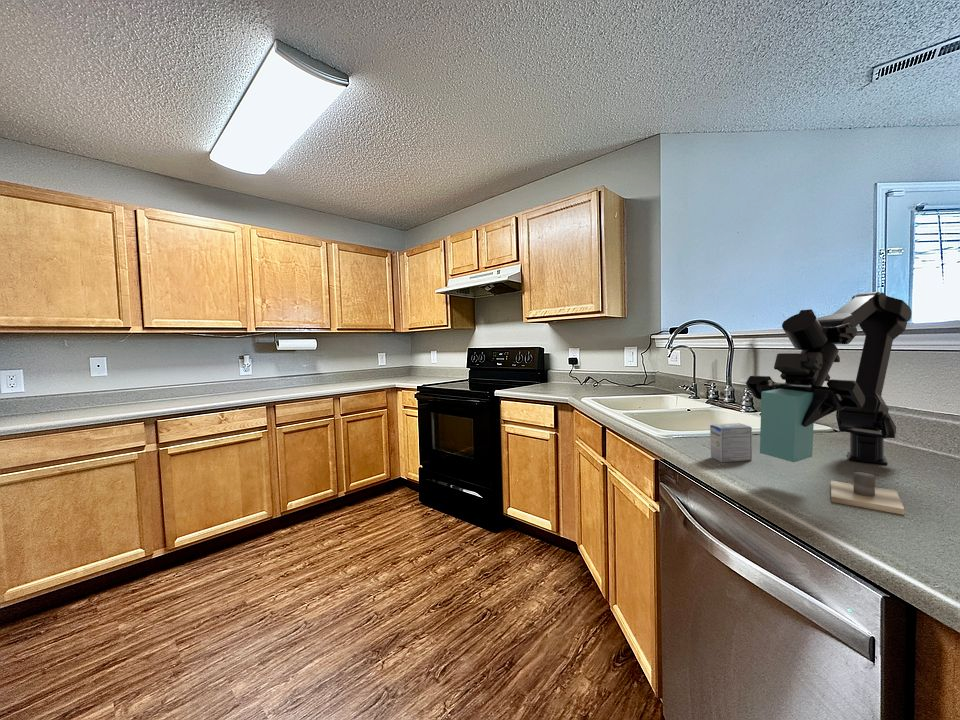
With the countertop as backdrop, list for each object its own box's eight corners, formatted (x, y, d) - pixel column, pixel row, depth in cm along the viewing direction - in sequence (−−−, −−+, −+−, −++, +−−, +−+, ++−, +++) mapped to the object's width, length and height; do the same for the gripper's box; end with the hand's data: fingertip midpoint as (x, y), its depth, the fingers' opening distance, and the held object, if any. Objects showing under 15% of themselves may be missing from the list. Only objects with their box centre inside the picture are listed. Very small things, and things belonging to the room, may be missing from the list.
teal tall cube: (777, 447, 82) (779, 388, 81) (812, 456, 76) (814, 392, 75) (759, 453, 80) (761, 391, 78) (793, 462, 74) (796, 396, 73)
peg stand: (830, 485, 77) (830, 463, 77) (896, 495, 71) (896, 471, 71) (831, 501, 70) (831, 477, 70) (904, 514, 64) (904, 488, 64)
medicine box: (740, 455, 99) (739, 422, 98) (752, 461, 94) (752, 426, 94) (710, 457, 98) (709, 424, 98) (721, 462, 94) (720, 428, 94)
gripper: (749, 340, 87) (719, 392, 83) (857, 337, 70) (826, 403, 66) (770, 372, 91) (742, 424, 87) (877, 376, 74) (849, 441, 70)
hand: (784, 422), depth 77 cm, fingers closed on teal tall cube, 6 cm apart
